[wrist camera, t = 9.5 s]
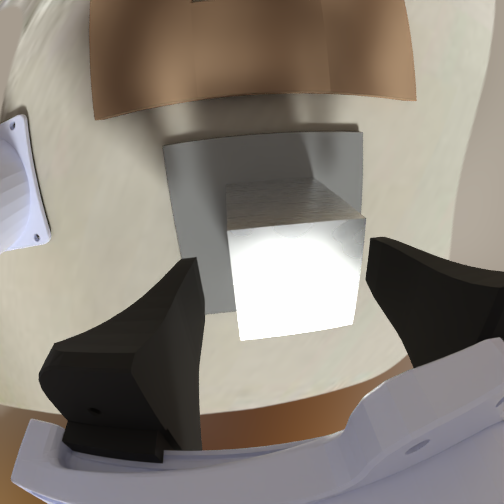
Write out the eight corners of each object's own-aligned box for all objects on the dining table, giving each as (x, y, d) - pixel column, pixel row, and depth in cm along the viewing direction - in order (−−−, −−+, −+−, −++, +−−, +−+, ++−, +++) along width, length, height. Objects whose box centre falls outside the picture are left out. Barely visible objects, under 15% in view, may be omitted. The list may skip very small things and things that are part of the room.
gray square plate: (195, 311, 18) (194, 315, 17) (164, 145, 13) (162, 146, 13) (350, 291, 18) (352, 295, 18) (359, 131, 14) (362, 132, 13)
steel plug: (234, 263, 16) (240, 340, 11) (226, 184, 14) (227, 230, 9) (313, 255, 16) (352, 323, 11) (313, 177, 14) (366, 218, 9)
